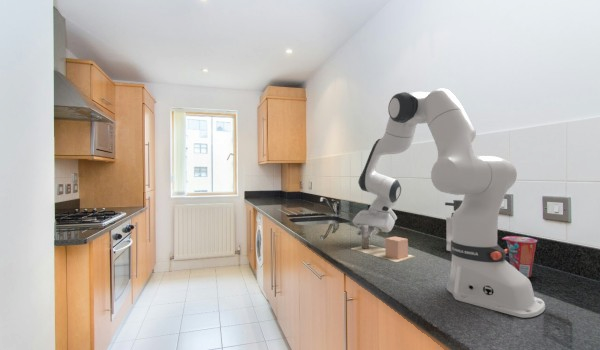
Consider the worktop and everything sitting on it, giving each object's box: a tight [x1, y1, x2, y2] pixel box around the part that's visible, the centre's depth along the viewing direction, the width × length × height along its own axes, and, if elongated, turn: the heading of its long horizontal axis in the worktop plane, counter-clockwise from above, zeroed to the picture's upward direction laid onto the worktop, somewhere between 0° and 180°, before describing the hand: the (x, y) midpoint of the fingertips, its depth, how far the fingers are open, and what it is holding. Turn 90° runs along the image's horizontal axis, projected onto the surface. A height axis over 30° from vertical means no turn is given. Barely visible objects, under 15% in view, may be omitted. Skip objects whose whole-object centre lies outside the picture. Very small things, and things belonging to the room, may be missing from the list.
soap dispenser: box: [444, 199, 463, 252], centre depth 127 cm, size 6×9×22 cm
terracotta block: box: [384, 236, 409, 260], centre depth 114 cm, size 6×6×7 cm
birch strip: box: [350, 225, 416, 263], centre depth 120 cm, size 24×12×11 cm, turn 34°
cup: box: [501, 235, 538, 278], centre depth 97 cm, size 9×8×12 cm
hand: (364, 235), depth 128 cm, fingers open, 5 cm apart
